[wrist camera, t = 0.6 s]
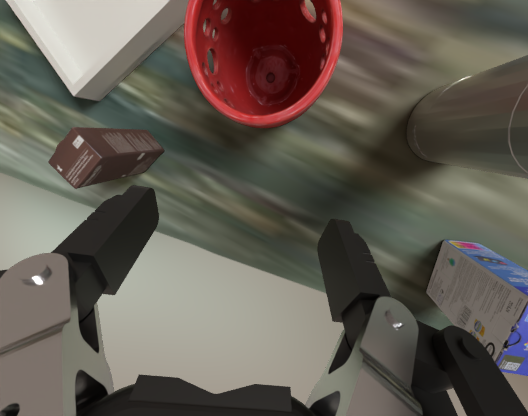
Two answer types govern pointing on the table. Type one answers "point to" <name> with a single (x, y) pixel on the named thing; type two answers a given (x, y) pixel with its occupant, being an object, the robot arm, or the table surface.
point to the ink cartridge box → (484, 300)
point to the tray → (98, 37)
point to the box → (103, 154)
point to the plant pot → (263, 56)
